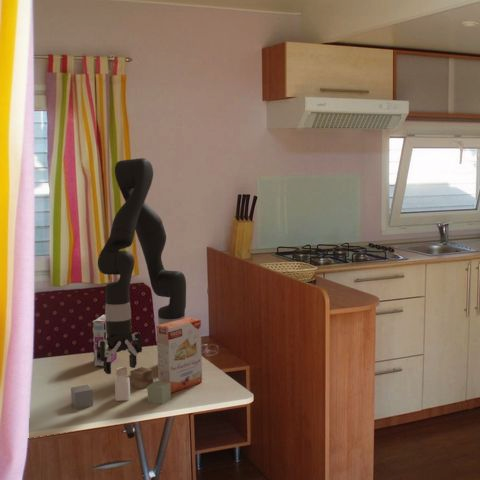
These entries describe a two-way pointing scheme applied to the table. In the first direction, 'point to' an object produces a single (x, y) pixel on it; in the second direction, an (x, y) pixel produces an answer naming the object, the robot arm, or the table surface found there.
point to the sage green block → (159, 392)
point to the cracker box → (179, 353)
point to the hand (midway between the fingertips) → (120, 370)
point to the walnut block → (141, 377)
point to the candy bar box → (100, 338)
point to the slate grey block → (81, 396)
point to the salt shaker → (122, 384)
